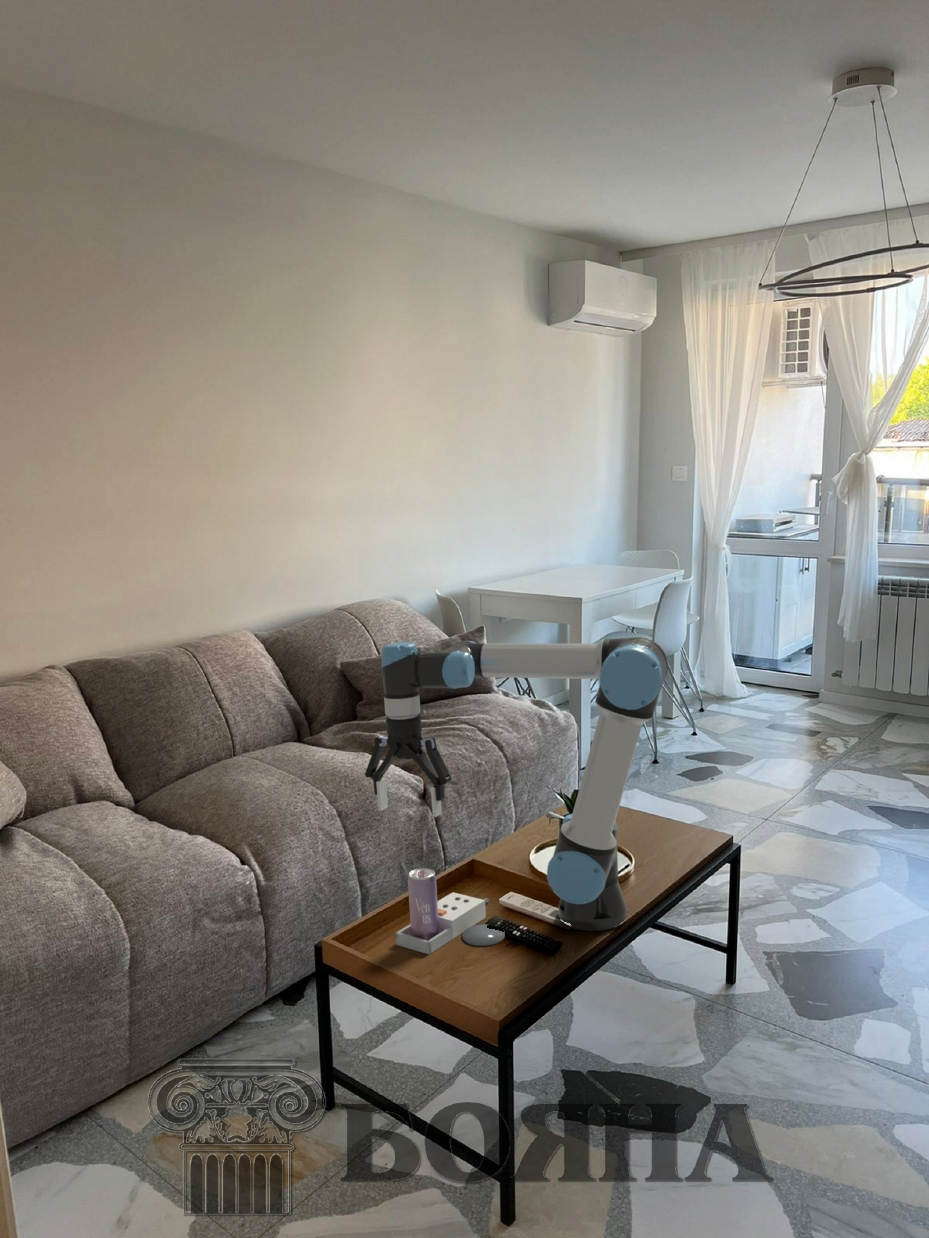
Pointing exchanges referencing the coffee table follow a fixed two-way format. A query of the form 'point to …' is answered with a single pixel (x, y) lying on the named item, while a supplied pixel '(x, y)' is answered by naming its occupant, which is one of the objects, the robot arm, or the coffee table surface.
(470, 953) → the coffee table surface
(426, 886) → the beverage can
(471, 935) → the coaster
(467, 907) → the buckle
